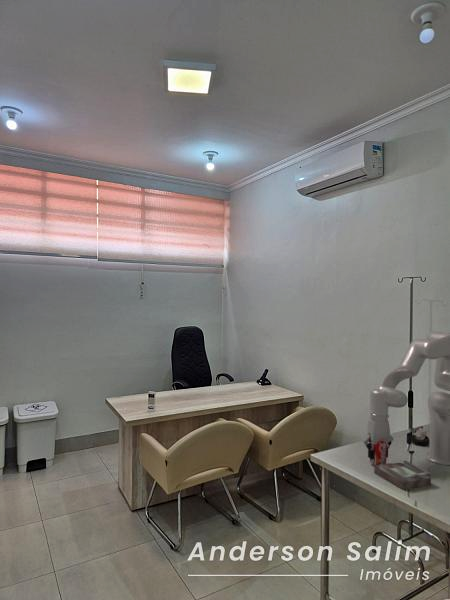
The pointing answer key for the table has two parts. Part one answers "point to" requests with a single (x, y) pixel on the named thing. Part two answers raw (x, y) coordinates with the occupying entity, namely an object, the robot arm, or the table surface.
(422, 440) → the caster wheel
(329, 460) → the table surface
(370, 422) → the robot arm
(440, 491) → the table surface
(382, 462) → the soda can
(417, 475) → the frame
